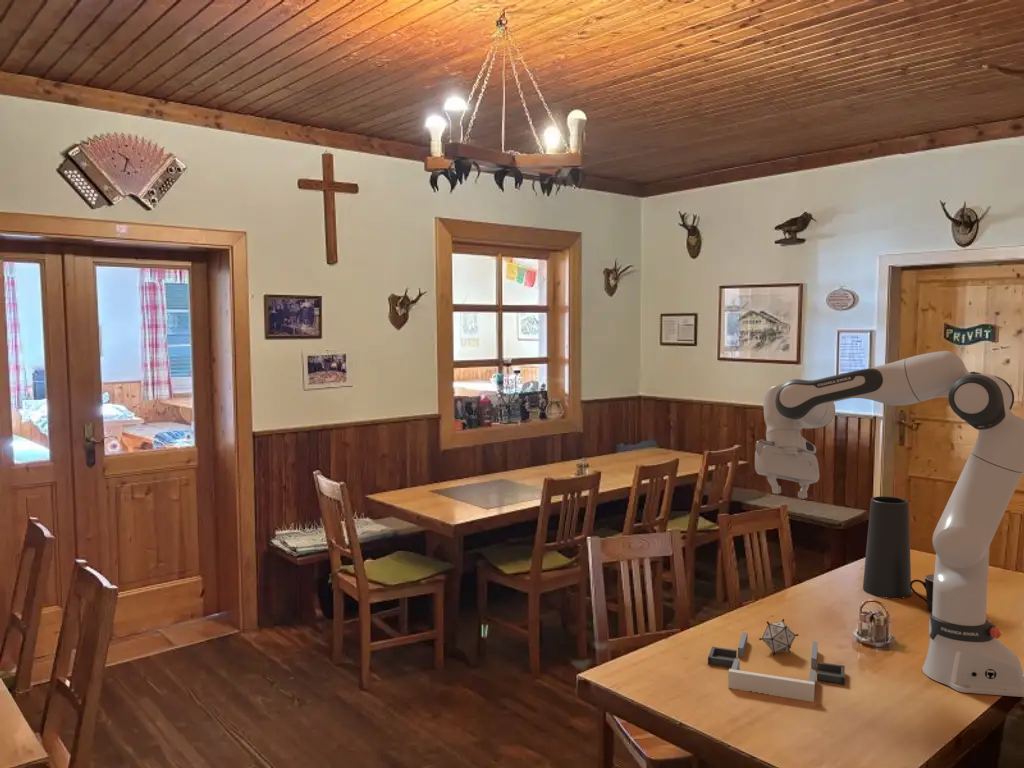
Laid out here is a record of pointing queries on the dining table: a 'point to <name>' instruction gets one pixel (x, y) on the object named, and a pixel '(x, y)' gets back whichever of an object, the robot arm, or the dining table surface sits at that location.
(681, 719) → the dining table surface
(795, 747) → the dining table surface
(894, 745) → the dining table surface
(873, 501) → the vase
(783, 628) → the game die
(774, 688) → the trap lane
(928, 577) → the coffee mug
